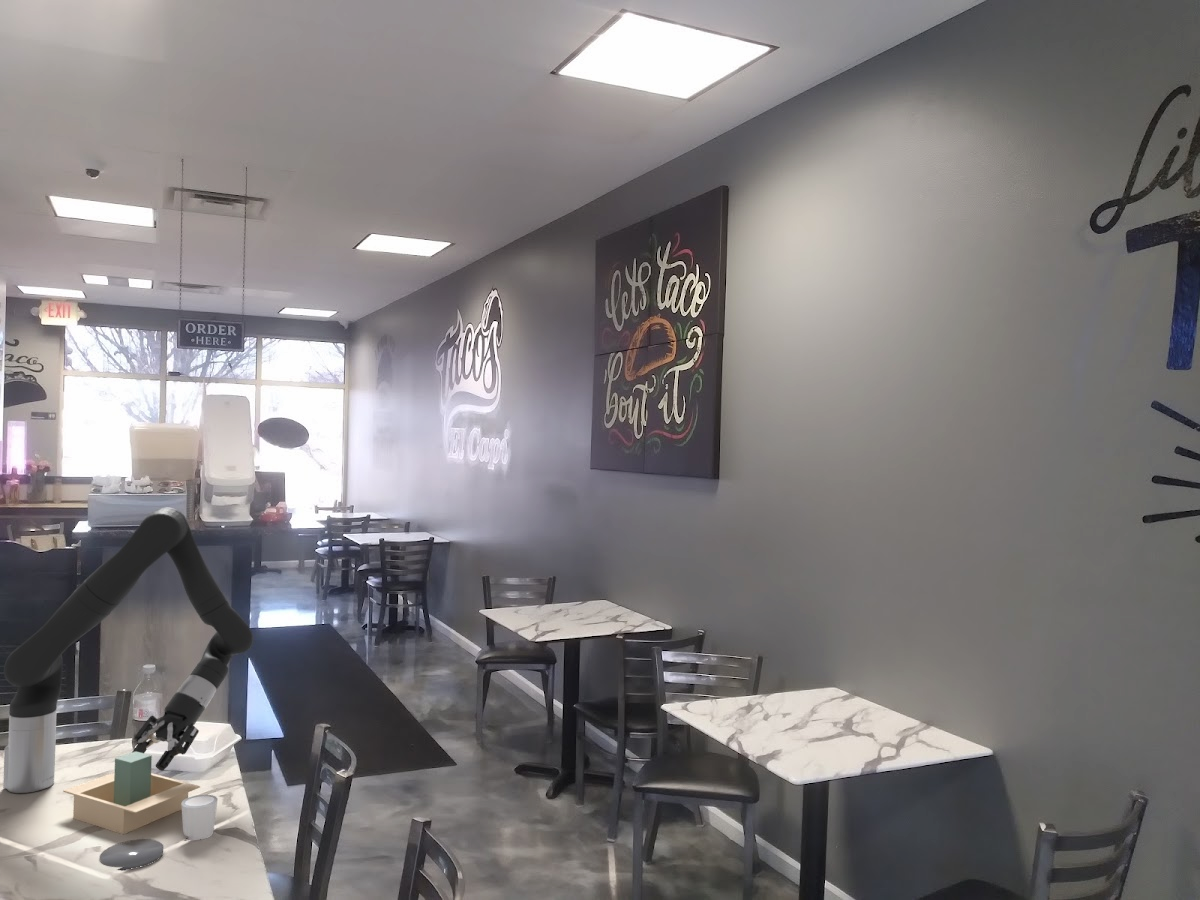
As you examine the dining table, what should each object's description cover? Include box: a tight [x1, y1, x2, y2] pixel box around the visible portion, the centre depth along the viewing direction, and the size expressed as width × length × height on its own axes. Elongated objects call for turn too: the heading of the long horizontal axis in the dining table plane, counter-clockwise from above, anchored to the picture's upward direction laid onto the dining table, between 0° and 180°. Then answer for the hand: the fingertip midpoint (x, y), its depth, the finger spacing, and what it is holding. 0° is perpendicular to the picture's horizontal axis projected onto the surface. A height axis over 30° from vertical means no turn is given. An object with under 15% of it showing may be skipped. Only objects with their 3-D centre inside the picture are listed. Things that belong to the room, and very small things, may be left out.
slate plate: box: [99, 838, 164, 871], centre depth 171 cm, size 11×11×1 cm
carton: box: [62, 771, 201, 835], centre depth 189 cm, size 23×16×6 cm
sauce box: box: [114, 751, 153, 806], centre depth 189 cm, size 5×5×12 cm
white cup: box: [181, 794, 218, 841], centre depth 181 cm, size 7×7×7 cm
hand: (145, 765), depth 192 cm, fingers open, 8 cm apart
